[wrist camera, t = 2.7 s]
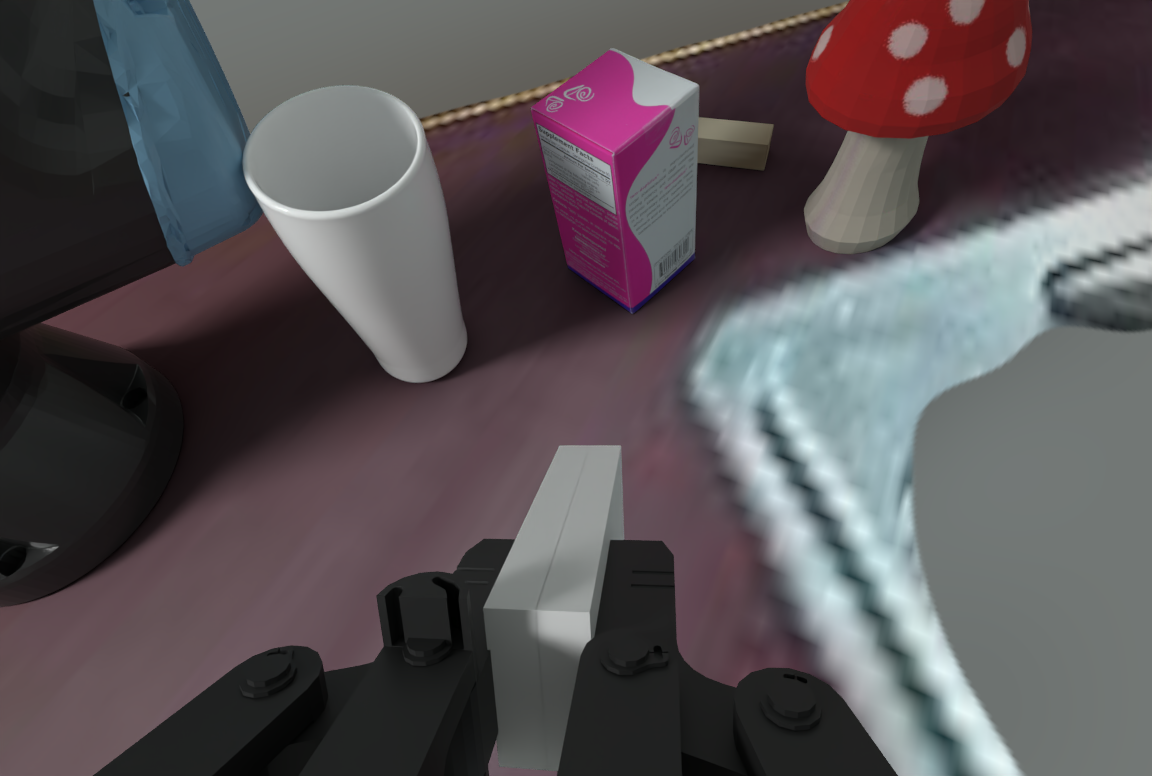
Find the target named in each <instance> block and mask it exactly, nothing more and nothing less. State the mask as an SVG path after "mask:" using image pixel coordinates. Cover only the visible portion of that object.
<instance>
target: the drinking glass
mask: <svg viewBox="0 0 1152 776" xmlns="http://www.w3.org/2000/svg"><path fill="white" fill-rule="evenodd" d="M242 166H243V173H244V177H245V180H246V182H247V185H248V186H249V188H250V190H251V191H252V193H253V194H254V196H255V198H256V200H257V201H258V203H259V205H260V207H261V208H262V210H263V212H264V214H265V215H266V217H267V219H268V220H269V222H270V224H271V225H272V227H273V228H274V230H275V232H276V233H277V235H278V236H279V238H280V239H281V241H282V242H283V244H284V245H285V247H286V248H287V249H288V251H289V252H290V254H291V255H292V256H293V258H294V259H295V260H296V262H297V263H298V264H299V265H300V267H301V268H302V269H303V271H304V272H305V273H306V274H307V275H308V277H309V278H310V279H311V280H312V281H313V283H314V284H315V285H316V286H317V287H318V288H319V290H320V291H321V292H322V293H323V294H324V295H325V297H326V298H327V299H328V300H329V301H330V302H331V304H332V305H333V306H334V307H335V308H336V309H337V311H338V312H339V313H340V314H341V315H342V317H343V318H344V319H345V320H346V321H347V322H348V324H349V325H350V326H351V327H352V328H353V330H354V331H355V332H356V333H357V334H358V335H359V337H360V338H361V339H362V340H363V341H364V343H365V344H366V345H367V346H368V348H369V349H370V350H371V351H372V353H373V354H374V356H375V357H376V359H377V361H378V362H379V364H380V365H381V366H382V368H383V369H384V370H385V371H386V372H388V373H389V374H390V375H392V376H393V377H395V378H397V379H400V380H402V381H406V382H411V383H424V382H429V381H433V380H436V379H439V378H441V377H443V376H444V375H446V374H448V373H449V372H450V371H452V370H453V369H454V368H455V367H456V366H457V364H458V363H459V362H460V360H461V359H462V357H463V355H464V353H465V350H466V346H467V330H466V326H465V323H464V319H463V316H462V310H461V304H460V298H459V291H458V284H457V278H456V271H455V263H454V256H453V249H452V242H451V235H450V228H449V221H448V215H447V209H446V204H445V200H444V195H443V191H442V187H441V183H440V180H439V176H438V172H437V169H436V166H435V162H434V159H433V156H432V153H431V150H430V147H429V144H428V141H427V138H426V135H425V132H424V128H423V126H422V124H421V122H420V120H419V118H418V117H417V115H416V114H415V113H414V111H413V110H412V109H411V108H410V107H409V106H408V105H407V104H405V103H404V102H403V101H401V100H400V99H398V98H397V97H395V96H393V95H391V94H389V93H386V92H384V91H381V90H378V89H374V88H370V87H364V86H354V85H342V86H330V87H324V88H319V89H315V90H311V91H308V92H305V93H302V94H300V95H297V96H295V97H293V98H291V99H289V100H287V101H285V102H283V103H281V104H280V105H278V106H277V107H275V108H274V109H273V110H271V111H270V112H269V113H268V114H267V115H266V116H265V117H263V118H262V119H261V121H260V122H259V123H258V124H257V125H256V127H255V128H254V129H253V131H252V132H251V134H250V136H249V137H248V140H247V142H246V144H245V148H244V151H243V158H242Z"/></svg>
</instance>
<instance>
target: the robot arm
mask: <svg viewBox="0 0 1152 776" xmlns="http://www.w3.org/2000/svg"><path fill="white" fill-rule="evenodd" d="M249 136H250V133H249V130H248V128H247V125H246V123H245V120H244V118H243V115H242V113H241V110H240V108H239V106H238V104H237V101H236V99H235V97H234V94H233V92H232V90H231V88H230V86H229V83H228V81H227V79H226V77H225V74H224V72H223V70H222V68H221V66H220V64H219V61H218V59H217V57H216V55H215V53H214V51H213V49H212V46H211V44H210V42H209V40H208V38H207V36H206V34H205V32H204V30H203V28H202V26H201V23H200V21H199V19H198V17H197V15H196V13H195V11H194V9H193V7H192V5H191V3H190V1H189V0H0V607H4V606H11V605H16V604H21V603H24V602H28V601H31V600H34V599H37V598H40V597H42V596H45V595H47V594H50V593H52V592H54V591H56V590H58V589H60V588H62V587H64V586H66V585H68V584H70V583H71V582H73V581H75V580H76V579H78V578H80V577H81V576H83V575H84V574H86V573H87V572H89V571H90V570H92V569H93V568H94V567H96V566H97V565H98V564H100V563H101V562H102V561H103V560H105V559H106V558H107V557H108V556H109V555H111V554H112V553H113V552H114V551H115V550H116V549H117V548H118V547H119V546H120V545H122V544H123V543H124V542H125V541H126V540H127V538H128V537H129V536H130V535H131V534H132V533H133V532H134V531H135V530H136V529H137V528H138V526H139V525H140V524H141V523H142V522H143V520H144V519H145V518H146V516H147V515H148V514H149V512H150V511H151V510H152V508H153V507H154V505H155V504H156V502H157V501H158V499H159V497H160V496H161V494H162V492H163V491H164V489H165V487H166V485H167V483H168V481H169V479H170V477H171V475H172V472H173V470H174V467H175V465H176V462H177V459H178V456H179V452H180V448H181V443H182V437H183V412H182V407H181V403H180V400H179V397H178V395H177V393H176V391H175V389H174V387H173V386H172V384H171V383H170V382H169V381H168V379H167V378H166V377H164V376H163V375H162V374H161V373H160V372H158V371H157V370H155V369H154V368H153V367H151V366H150V365H148V364H147V363H146V362H144V361H143V360H141V359H140V358H139V357H137V356H136V355H134V354H133V353H131V352H129V351H127V350H125V349H123V348H120V347H118V346H115V345H112V344H109V343H106V342H102V341H99V340H96V339H93V338H89V337H86V336H83V335H79V334H76V333H73V332H69V331H66V330H63V329H60V328H56V327H53V326H50V325H46V324H43V323H41V322H43V321H45V320H48V319H50V318H52V317H55V316H57V315H59V314H61V313H64V312H66V311H68V310H70V309H73V308H75V307H77V306H80V305H82V304H84V303H86V302H89V301H91V300H93V299H96V298H98V297H100V296H102V295H105V294H107V293H109V292H112V291H114V290H116V289H118V288H121V287H123V286H125V285H127V284H130V283H132V282H134V281H137V280H139V279H141V278H143V277H146V276H148V275H150V274H153V273H155V272H157V271H159V270H162V269H164V268H166V267H168V266H171V265H173V264H175V263H176V264H178V265H179V266H185V265H187V264H189V263H191V262H192V260H193V258H194V255H196V254H198V253H200V252H202V251H204V250H206V249H208V248H210V247H212V246H214V245H216V244H218V243H220V242H222V241H225V240H227V239H229V238H231V237H233V236H235V235H237V234H239V233H241V232H243V231H245V230H246V229H248V228H250V227H251V226H252V225H253V224H255V223H256V222H257V221H258V219H259V218H260V217H261V215H262V214H263V210H262V208H261V207H260V205H259V203H258V201H257V200H256V198H255V196H254V194H253V193H252V191H251V190H250V188H249V186H248V185H247V182H246V180H245V177H244V173H243V166H242V158H243V151H244V148H245V144H246V142H247V140H248V137H249ZM377 603H378V610H379V616H380V623H381V630H382V636H383V643H384V647H383V649H382V650H381V652H380V653H379V655H378V656H377V658H376V659H375V661H374V662H372V663H368V664H364V665H360V666H355V667H349V668H344V669H338V670H333V671H327V672H324V669H323V664H322V661H321V658H320V656H319V654H318V652H316V651H314V650H312V649H310V648H308V647H303V646H286V647H280V648H274V649H270V650H268V651H265V652H263V653H260V654H258V655H255V656H253V657H251V658H249V659H248V660H246V661H244V662H243V663H241V664H239V665H238V666H236V667H235V668H233V669H232V670H231V671H229V672H228V673H227V674H226V675H224V676H223V677H222V678H220V679H219V680H218V681H216V682H215V683H214V684H212V685H211V686H210V687H208V688H207V689H206V690H205V691H203V692H202V693H201V694H199V695H198V696H197V697H195V698H194V699H193V700H191V701H190V702H189V703H188V704H186V705H185V706H184V707H182V708H181V709H180V710H178V711H177V712H176V713H174V714H173V715H172V716H170V717H169V718H168V719H167V720H165V721H164V722H163V723H161V724H160V725H159V726H157V727H156V728H155V729H153V730H152V731H151V732H150V733H148V734H147V735H146V736H144V737H143V738H142V739H140V740H139V741H138V742H136V743H135V744H134V745H132V746H131V747H130V748H129V749H127V750H126V751H125V752H123V753H122V754H121V755H119V756H118V757H117V758H115V759H114V760H113V761H112V762H110V763H109V764H108V765H106V766H105V767H104V768H102V769H101V770H100V771H98V772H97V773H96V774H95V775H93V776H489V770H488V763H489V760H490V757H491V754H492V750H493V747H494V744H495V741H496V740H497V750H498V760H499V767H511V768H524V769H537V770H549V771H558V773H557V776H898V775H897V774H896V772H895V771H894V770H893V768H892V767H891V765H890V764H889V763H888V761H887V760H886V758H885V757H884V756H883V754H882V753H881V751H880V750H879V749H878V747H877V746H876V744H875V743H874V742H873V740H872V739H871V737H870V736H869V734H868V733H867V732H866V730H865V729H864V727H863V726H862V725H861V723H860V722H859V720H858V719H857V718H856V716H855V715H854V713H853V712H852V711H851V709H850V708H849V706H848V705H847V704H846V702H845V701H844V699H843V698H842V697H841V696H840V695H839V694H838V693H837V692H836V691H835V690H834V689H833V688H832V687H831V686H830V685H828V684H826V683H825V682H823V681H821V680H819V679H818V678H816V677H814V676H812V675H810V674H807V673H804V672H800V671H797V670H793V669H789V668H766V669H762V670H759V671H755V672H752V673H750V674H749V675H747V676H746V677H745V678H744V679H743V680H741V681H740V682H739V683H738V686H737V688H735V687H732V686H729V685H725V684H722V683H719V682H717V681H714V680H712V679H709V678H706V677H705V676H703V675H701V674H700V673H698V672H697V671H695V670H693V669H692V668H691V667H690V666H689V665H688V664H687V663H686V662H685V661H684V659H683V658H682V656H681V654H680V653H679V651H678V646H677V640H676V612H675V583H674V555H673V554H672V553H671V552H670V550H669V549H668V548H667V547H666V545H665V544H664V543H663V542H662V541H642V540H624V520H623V490H622V460H621V446H559V448H558V450H557V452H556V454H555V456H554V458H553V461H552V463H551V465H550V467H549V469H548V471H547V473H546V476H545V478H544V480H543V482H542V484H541V486H540V488H539V490H538V493H537V495H536V497H535V499H534V501H533V503H532V505H531V507H530V510H529V512H528V514H527V516H526V518H525V520H524V522H523V524H522V527H521V529H520V531H519V533H518V535H517V537H516V539H515V540H512V539H483V540H482V541H481V542H479V543H478V544H476V545H475V546H474V547H472V548H471V549H470V550H468V551H467V552H466V553H465V555H464V556H463V558H462V560H461V561H460V563H459V565H458V566H457V571H454V573H453V574H450V573H444V572H426V573H418V574H415V575H411V576H408V577H404V578H402V579H400V580H398V581H396V582H394V583H392V584H390V585H388V586H387V587H386V588H385V589H383V590H382V591H381V592H380V593H379V594H378V595H377Z"/></svg>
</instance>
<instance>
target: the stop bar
mask: <svg viewBox="0 0 1152 776" xmlns="http://www.w3.org/2000/svg"><path fill="white" fill-rule="evenodd" d="M773 126H774V124H764V123H754V122H743V121H733V120H723V119H712V118H702V117H699V119H698V155H697V163H703V164H711V165H720V166H728V167H737V168H746V169H754V170H763V171H764V169H765V165H766V161H767V157H768V153H769V149H770V143H771V138H772V132H773Z"/></svg>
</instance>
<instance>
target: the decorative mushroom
mask: <svg viewBox="0 0 1152 776" xmlns="http://www.w3.org/2000/svg"><path fill="white" fill-rule="evenodd" d="M1031 42H1032V25H1031V18H1030V11H1029V0H850V1H849V3H848V4H847V6H846V7H845V8H844V9H843V10H842V11H841V12H840V13H839V14H838V15H837V16H836V17H835V18H834V19H833V20H832V21H831V22H830V23H829V24H828V25H827V26H826V27H825V29H824V30H823V31H822V33H821V35H820V37H819V39H818V41H817V43H816V45H815V47H814V49H813V51H812V54H811V57H810V60H809V63H808V66H807V69H806V88H807V93H808V99H809V102H810V103H811V104H812V106H813V107H814V108H815V109H816V110H817V112H818V113H819V114H820V115H821V116H822V117H823V118H824V119H826V120H828V121H830V122H832V123H833V124H835V125H837V126H839V127H841V128H843V129H844V130H847V134H846V136H845V139H844V141H843V143H842V145H841V148H840V150H839V152H838V154H837V156H836V158H835V160H834V162H833V164H832V166H831V167H830V169H829V171H828V173H827V174H826V176H825V178H824V180H823V181H822V182H821V183H820V185H819V186H818V187H817V188H816V189H815V190H814V192H813V193H812V194H811V195H810V196H809V198H808V200H807V202H806V205H805V208H804V215H805V222H806V228H807V233H808V236H809V237H810V238H811V240H812V241H813V243H814V244H816V245H817V246H819V247H820V248H822V249H823V250H827V251H830V252H834V253H839V254H856V253H862V252H868V251H871V250H873V249H876V248H879V247H881V246H883V245H885V244H886V243H887V242H889V241H890V240H892V239H893V238H894V237H895V236H896V235H897V234H898V233H899V232H900V231H901V230H902V229H903V228H904V227H905V226H906V225H907V224H908V223H909V222H910V220H911V219H912V218H913V217H914V215H915V214H916V212H917V209H918V205H919V192H918V183H917V182H918V176H919V170H920V164H921V160H922V156H923V152H924V149H925V145H926V142H927V139H928V136H931V135H938V134H944V133H948V132H951V131H953V130H956V129H959V128H962V127H964V126H967V125H970V124H973V123H975V122H977V121H979V120H980V119H982V118H983V117H985V116H986V115H988V114H989V113H991V112H992V111H994V110H995V109H997V108H998V107H1000V106H1001V105H1002V104H1003V103H1004V102H1005V100H1006V99H1007V98H1008V97H1009V96H1010V95H1011V94H1012V93H1013V91H1014V90H1015V88H1016V87H1017V85H1018V84H1019V83H1020V81H1021V80H1022V78H1023V77H1024V75H1025V73H1026V69H1027V64H1028V60H1029V56H1030V51H1031Z"/></svg>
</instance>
